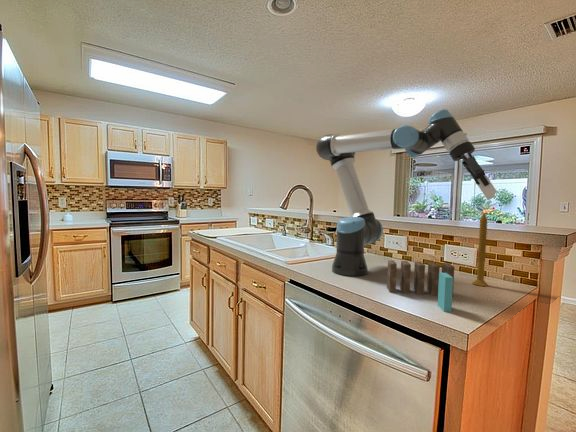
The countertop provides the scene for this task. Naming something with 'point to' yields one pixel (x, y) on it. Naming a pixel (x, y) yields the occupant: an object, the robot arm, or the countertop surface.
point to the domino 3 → (419, 277)
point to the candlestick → (481, 251)
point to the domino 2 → (405, 277)
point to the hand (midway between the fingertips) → (492, 196)
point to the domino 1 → (391, 276)
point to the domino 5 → (448, 270)
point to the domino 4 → (433, 278)
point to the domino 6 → (445, 292)
